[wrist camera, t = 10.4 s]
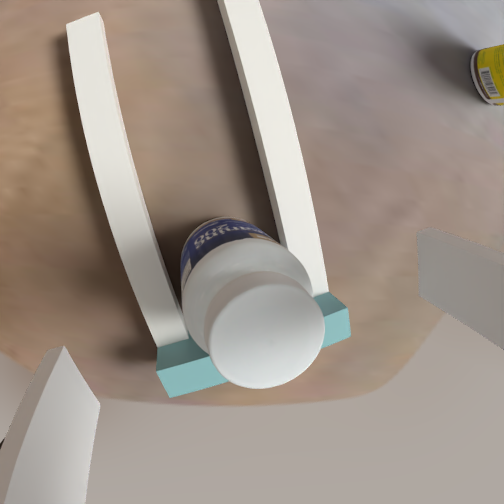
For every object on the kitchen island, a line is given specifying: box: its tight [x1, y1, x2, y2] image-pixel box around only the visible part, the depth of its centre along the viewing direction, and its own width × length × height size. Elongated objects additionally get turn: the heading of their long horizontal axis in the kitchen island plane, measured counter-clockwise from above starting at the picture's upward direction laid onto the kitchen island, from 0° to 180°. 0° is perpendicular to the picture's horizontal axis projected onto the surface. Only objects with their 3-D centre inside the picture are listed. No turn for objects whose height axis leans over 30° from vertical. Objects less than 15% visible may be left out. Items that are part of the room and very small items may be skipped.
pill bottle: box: [181, 217, 325, 389], centre depth 15 cm, size 5×5×10 cm
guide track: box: [66, 0, 351, 398], centre depth 16 cm, size 22×11×4 cm, turn 14°
